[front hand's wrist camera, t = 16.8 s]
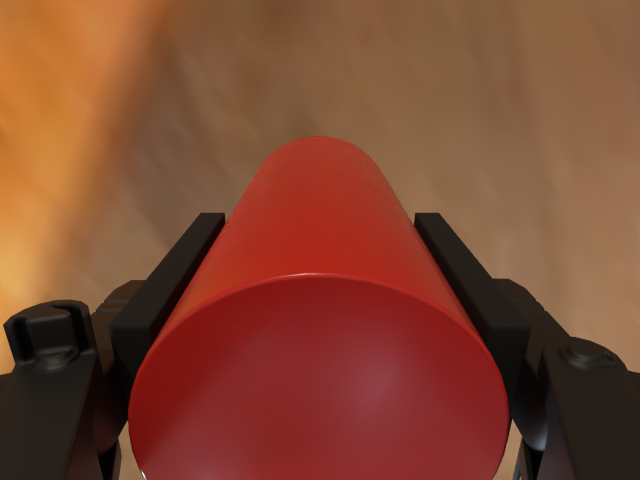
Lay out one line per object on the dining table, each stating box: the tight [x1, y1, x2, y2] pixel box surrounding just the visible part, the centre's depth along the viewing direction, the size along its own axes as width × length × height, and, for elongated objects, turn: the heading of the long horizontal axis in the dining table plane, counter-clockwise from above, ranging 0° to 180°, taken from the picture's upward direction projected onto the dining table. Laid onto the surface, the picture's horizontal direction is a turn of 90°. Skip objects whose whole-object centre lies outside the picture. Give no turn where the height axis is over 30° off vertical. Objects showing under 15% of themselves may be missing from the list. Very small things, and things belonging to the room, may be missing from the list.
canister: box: [128, 136, 509, 480], centre depth 13 cm, size 6×6×12 cm
